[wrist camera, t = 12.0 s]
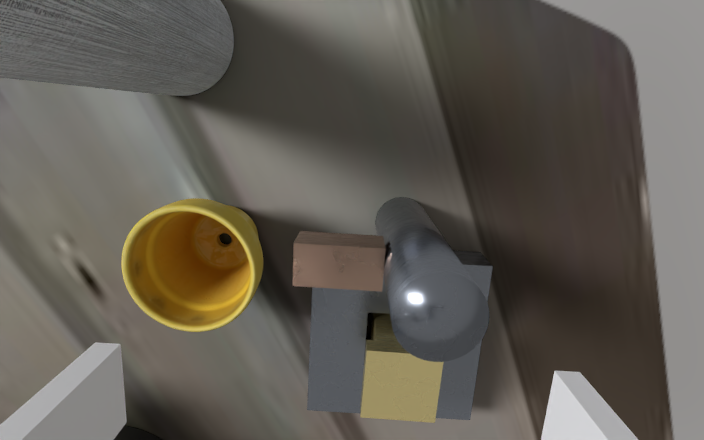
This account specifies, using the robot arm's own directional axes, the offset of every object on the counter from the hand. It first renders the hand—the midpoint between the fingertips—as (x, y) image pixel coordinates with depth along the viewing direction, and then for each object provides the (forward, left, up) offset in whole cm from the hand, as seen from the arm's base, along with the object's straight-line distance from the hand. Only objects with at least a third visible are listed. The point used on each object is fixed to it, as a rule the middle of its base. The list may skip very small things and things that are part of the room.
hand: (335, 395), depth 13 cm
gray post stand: (+5, -10, -29) cm, 31 cm away
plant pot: (-12, -4, -29) cm, 32 cm away
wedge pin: (+5, -12, -29) cm, 32 cm away
